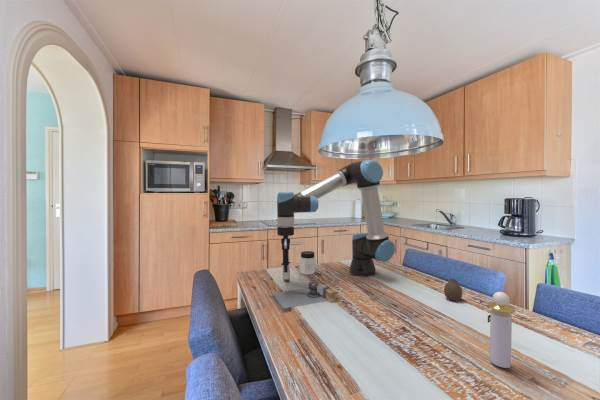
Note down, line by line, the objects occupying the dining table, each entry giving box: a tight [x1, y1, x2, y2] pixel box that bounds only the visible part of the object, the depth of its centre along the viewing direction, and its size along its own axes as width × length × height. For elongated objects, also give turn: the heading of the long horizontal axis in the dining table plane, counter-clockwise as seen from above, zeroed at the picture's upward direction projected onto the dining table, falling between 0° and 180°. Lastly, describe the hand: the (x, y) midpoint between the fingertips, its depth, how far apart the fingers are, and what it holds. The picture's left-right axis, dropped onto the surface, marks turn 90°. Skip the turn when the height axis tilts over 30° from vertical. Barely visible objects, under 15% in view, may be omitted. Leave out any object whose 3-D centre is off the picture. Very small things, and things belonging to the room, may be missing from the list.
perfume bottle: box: [487, 291, 516, 369], centre depth 70 cm, size 6×6×20 cm
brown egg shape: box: [443, 278, 463, 302], centre depth 114 cm, size 7×7×9 cm
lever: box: [282, 265, 331, 296], centre depth 118 cm, size 22×4×11 cm, turn 71°
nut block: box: [326, 288, 340, 303], centre depth 111 cm, size 4×4×4 cm
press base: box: [272, 288, 329, 313], centre depth 116 cm, size 25×17×4 cm
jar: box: [299, 250, 316, 276], centre depth 154 cm, size 9×8×12 cm
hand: (285, 278), depth 117 cm, fingers closed
